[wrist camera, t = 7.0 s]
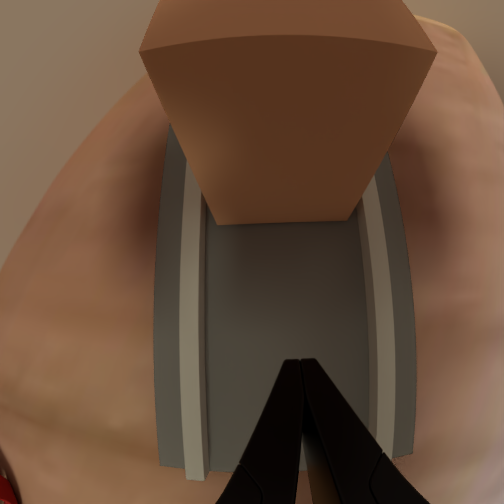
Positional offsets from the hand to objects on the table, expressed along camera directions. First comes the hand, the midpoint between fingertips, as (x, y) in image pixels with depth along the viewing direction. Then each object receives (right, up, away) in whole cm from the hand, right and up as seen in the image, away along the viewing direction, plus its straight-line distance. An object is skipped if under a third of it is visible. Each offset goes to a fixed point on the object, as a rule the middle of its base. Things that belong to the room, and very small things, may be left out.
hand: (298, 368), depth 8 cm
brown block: (0, +7, +7) cm, 10 cm away
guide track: (0, +3, +8) cm, 8 cm away
